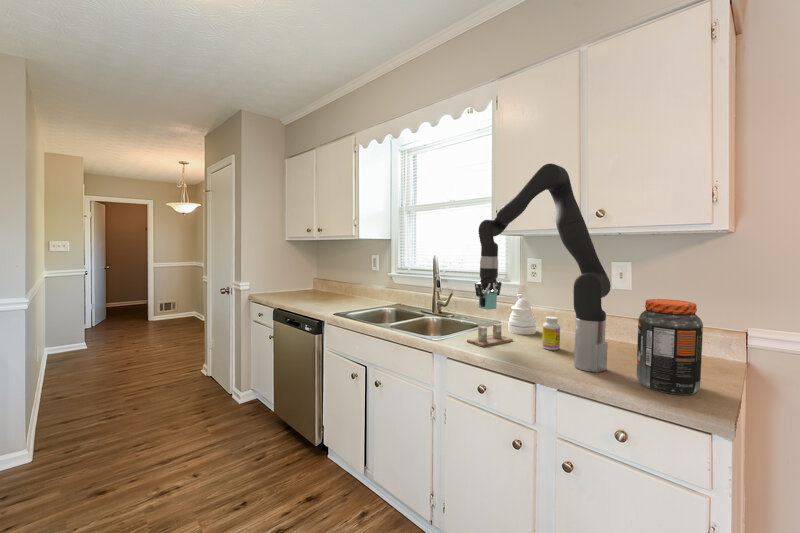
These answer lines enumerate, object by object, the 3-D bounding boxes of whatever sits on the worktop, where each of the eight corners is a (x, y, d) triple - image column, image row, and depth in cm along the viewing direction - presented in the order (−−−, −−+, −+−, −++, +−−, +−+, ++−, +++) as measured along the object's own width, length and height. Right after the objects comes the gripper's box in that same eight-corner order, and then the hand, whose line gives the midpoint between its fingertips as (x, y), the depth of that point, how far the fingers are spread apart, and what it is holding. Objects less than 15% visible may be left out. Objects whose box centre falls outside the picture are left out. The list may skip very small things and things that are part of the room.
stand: (512, 341, 163) (513, 325, 163) (483, 347, 153) (483, 330, 153) (495, 336, 172) (495, 321, 171) (466, 341, 162) (467, 326, 161)
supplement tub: (653, 373, 123) (656, 296, 121) (710, 390, 109) (715, 303, 107) (625, 382, 115) (628, 300, 113) (682, 401, 101) (687, 307, 100)
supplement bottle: (557, 351, 147) (558, 319, 147) (540, 348, 151) (541, 317, 151) (561, 347, 153) (562, 317, 152) (544, 345, 157) (545, 315, 156)
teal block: (496, 308, 158) (496, 293, 157) (487, 309, 155) (488, 294, 155) (487, 306, 162) (488, 291, 162) (478, 307, 160) (479, 292, 159)
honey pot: (502, 330, 183) (503, 294, 182) (519, 327, 190) (520, 292, 189) (524, 335, 173) (525, 297, 171) (541, 332, 180) (542, 295, 179)
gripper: (483, 268, 150) (481, 309, 152) (507, 267, 158) (505, 306, 159) (470, 266, 157) (469, 306, 158) (494, 265, 164) (493, 303, 166)
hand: (487, 305), depth 159 cm, fingers closed on teal block, 5 cm apart
